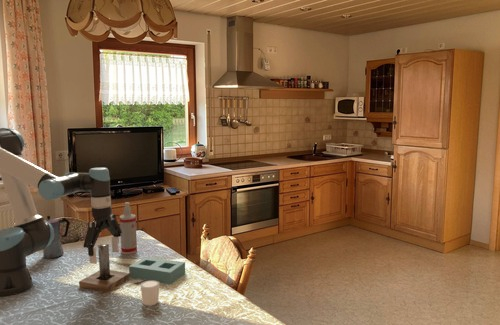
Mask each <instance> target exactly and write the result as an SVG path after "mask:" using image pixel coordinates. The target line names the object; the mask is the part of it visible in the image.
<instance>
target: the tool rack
mask: <svg viewBox="0 0 500 325" xmlns="http://www.w3.org/2000/svg"><path fill="white" fill-rule="evenodd" d="M128 271H129V272H128V273H130V279H136V280H141V281H150V280H154V281H158V282H159V284H168V285H172V284H173V283H174V282H176V281H177V280H178V279H180V278H182V277H183V276H184V275H185V274H186V262H185V261H179V260H178V261H177V260H172V259H165V258H157V257H149V256H145V257H143V258H140V259H139V260H137V261H136V262H133V263H132V264H130V265H128Z"/></svg>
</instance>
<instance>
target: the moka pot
mask: <svg viewBox="0 0 500 325" xmlns="http://www.w3.org/2000/svg"><path fill="white" fill-rule="evenodd" d="M44 221H47V222H49V224H51V225H52V227H53V229H54V238H53V241H52V243H51V244H50V245H49V246H47V247H46V248H44V249H43V250H42V252H43V255H42V256H43V258H44V259H54V258H58V257H61V256H62V255H64V249H63V246H62V242H61V240H60V237H61V238H66V237H67V235H68V231H69V229H70V228H69V227H70V223H71V222H70V221H69V220H68V219H67V218H66V217H64V218H51V215H47V216H46V219H44ZM62 223H66V224H65V225H66V226H65V231H64V234H63V235H61V224H62ZM60 235H61V236H60Z"/></svg>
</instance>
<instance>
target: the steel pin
mask: <svg viewBox="0 0 500 325" xmlns="http://www.w3.org/2000/svg"><path fill="white" fill-rule="evenodd" d="M97 248H98V250H97V252H98V266H99V268H98V269H99V270H100V280H105V281H107V280H108V279H110V270H111V266H110V265H111V263H110V248H109V244H108V243H100V244H99V245H98V246H97ZM99 270H98V271H99Z"/></svg>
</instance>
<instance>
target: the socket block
mask: <svg viewBox="0 0 500 325" xmlns="http://www.w3.org/2000/svg"><path fill="white" fill-rule="evenodd" d="M130 279H131V278H130V273H129V272H126V271H119V270H113V269H110V279H108V280H107V281H105V280H100V270H97V271H96V272H93V273H92V274H90V275H88V276H86V277H85V278H83V279H81V280H79V281H78V285H79V286H78V287H79V288H81V289H86V290H92V291H96V292H104V293H110V292H112V291H113V290H114V289H116V288H118V287H120V286H121V285H122V284H124V283H126V282H127V281H129V280H130Z"/></svg>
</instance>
